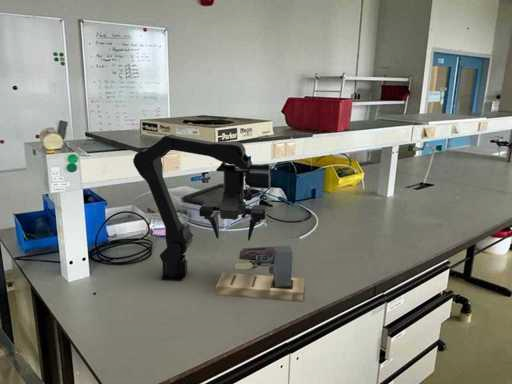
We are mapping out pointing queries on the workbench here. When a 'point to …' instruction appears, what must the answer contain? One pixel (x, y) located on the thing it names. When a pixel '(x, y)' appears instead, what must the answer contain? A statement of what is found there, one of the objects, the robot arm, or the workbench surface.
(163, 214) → the robot arm
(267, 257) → the toy gun
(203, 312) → the workbench surface
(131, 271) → the workbench surface
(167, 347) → the workbench surface
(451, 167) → the workbench surface
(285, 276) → the tall gray pillar
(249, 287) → the slotted wooden board
